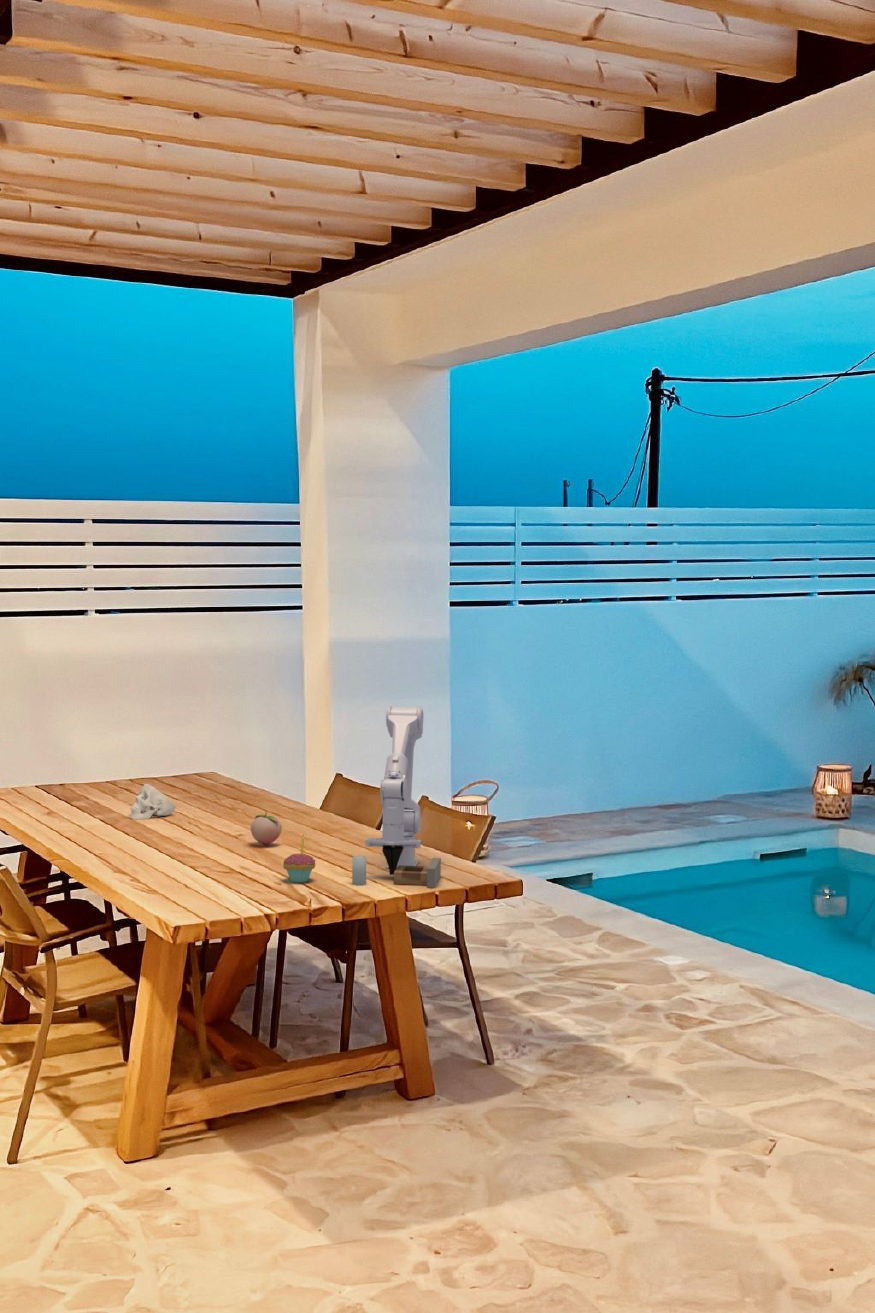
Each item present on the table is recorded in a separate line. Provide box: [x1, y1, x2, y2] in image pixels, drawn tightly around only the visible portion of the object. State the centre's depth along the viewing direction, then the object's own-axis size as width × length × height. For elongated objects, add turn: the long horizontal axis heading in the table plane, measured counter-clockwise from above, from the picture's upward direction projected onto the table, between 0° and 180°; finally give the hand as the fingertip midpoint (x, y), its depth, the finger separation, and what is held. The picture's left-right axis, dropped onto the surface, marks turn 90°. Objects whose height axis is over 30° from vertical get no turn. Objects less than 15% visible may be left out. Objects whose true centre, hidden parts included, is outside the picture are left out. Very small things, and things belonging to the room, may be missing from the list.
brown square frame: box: [393, 865, 429, 886], centre depth 348 cm, size 9×9×3 cm
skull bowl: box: [129, 783, 177, 821], centre depth 440 cm, size 10×14×12 cm
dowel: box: [351, 855, 367, 886], centre depth 344 cm, size 4×4×7 cm
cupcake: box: [282, 834, 316, 884], centre depth 347 cm, size 9×8×12 cm
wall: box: [426, 857, 442, 889], centre depth 347 cm, size 14×2×5 cm, turn 174°
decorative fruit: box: [250, 812, 283, 846], centre depth 393 cm, size 9×8×10 cm
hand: (392, 874), depth 351 cm, fingers closed
